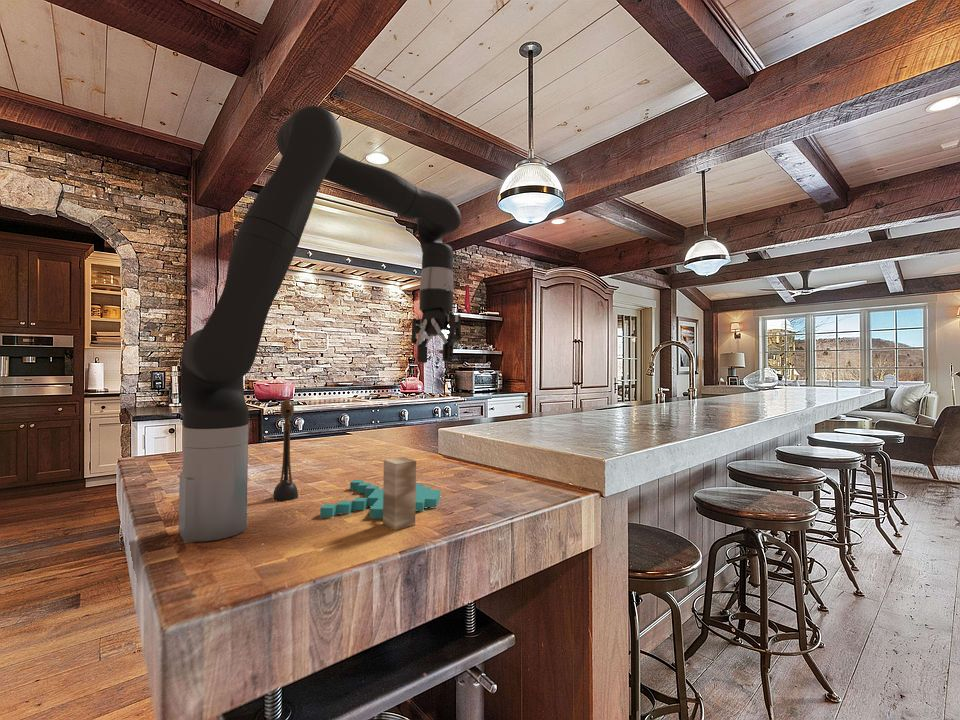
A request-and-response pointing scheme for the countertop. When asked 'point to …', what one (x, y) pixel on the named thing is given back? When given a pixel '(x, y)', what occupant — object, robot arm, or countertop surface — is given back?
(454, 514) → the countertop surface
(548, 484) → the countertop surface
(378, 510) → the teal pixel invader
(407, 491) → the tall wooden block
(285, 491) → the wooden tabletop sculpture
